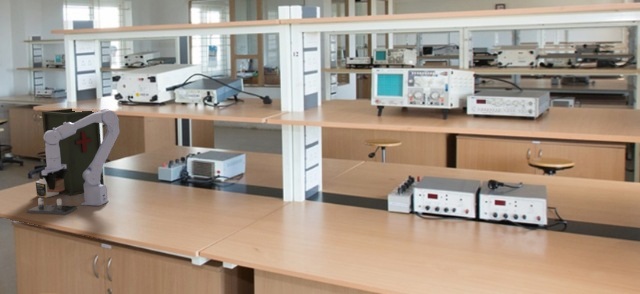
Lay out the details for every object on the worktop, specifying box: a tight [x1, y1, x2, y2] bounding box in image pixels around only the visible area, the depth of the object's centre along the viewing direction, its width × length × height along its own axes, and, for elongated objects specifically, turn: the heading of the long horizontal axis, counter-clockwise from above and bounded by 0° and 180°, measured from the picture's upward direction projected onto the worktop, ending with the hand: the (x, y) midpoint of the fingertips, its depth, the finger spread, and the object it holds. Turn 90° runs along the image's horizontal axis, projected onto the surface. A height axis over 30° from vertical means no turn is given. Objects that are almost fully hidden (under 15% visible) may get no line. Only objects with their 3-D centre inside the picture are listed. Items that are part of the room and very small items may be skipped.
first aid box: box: [41, 108, 105, 196], centre depth 282 cm, size 18×18×40 cm
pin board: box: [26, 196, 78, 216], centre depth 247 cm, size 18×9×6 cm, turn 81°
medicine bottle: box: [35, 171, 60, 198], centre depth 273 cm, size 7×7×12 cm
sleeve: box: [47, 179, 65, 193], centre depth 250 cm, size 5×5×5 cm
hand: (55, 187), depth 250 cm, fingers closed on sleeve, 5 cm apart
